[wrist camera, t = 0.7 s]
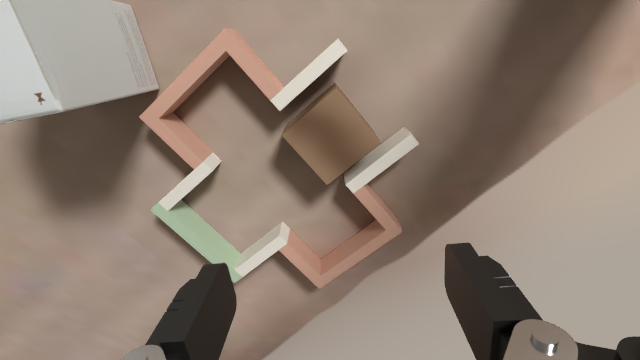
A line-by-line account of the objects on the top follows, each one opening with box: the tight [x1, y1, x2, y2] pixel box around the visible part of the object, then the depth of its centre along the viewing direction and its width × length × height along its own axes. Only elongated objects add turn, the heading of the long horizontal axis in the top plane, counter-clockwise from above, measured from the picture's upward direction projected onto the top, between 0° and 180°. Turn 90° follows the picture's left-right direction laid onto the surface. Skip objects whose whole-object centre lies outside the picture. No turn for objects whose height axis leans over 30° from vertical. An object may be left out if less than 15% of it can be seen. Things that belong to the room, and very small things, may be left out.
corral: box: [139, 28, 419, 289], centre depth 33 cm, size 24×24×3 cm
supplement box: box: [0, 0, 159, 124], centre depth 24 cm, size 7×7×13 cm
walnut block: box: [282, 83, 381, 185], centre depth 31 cm, size 6×6×4 cm
